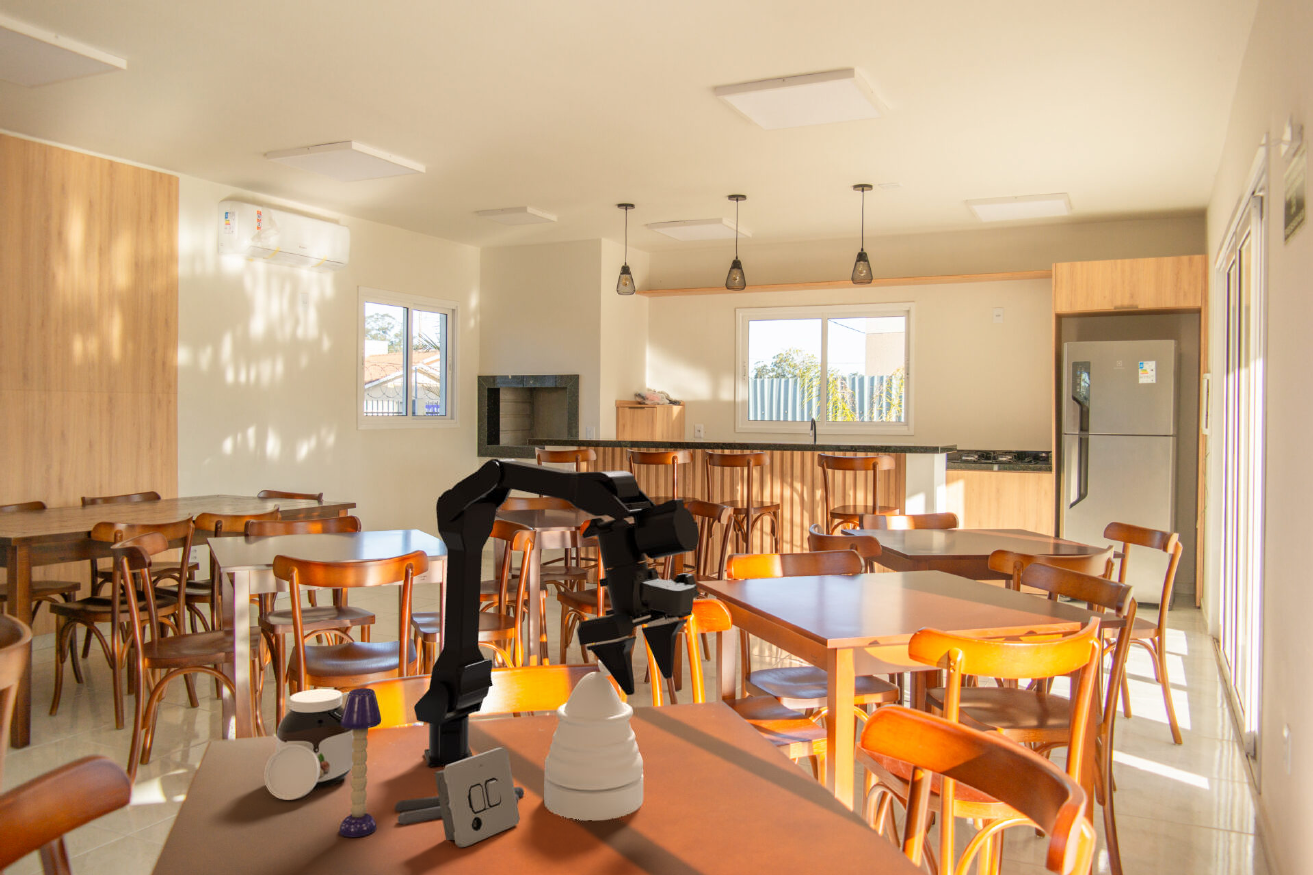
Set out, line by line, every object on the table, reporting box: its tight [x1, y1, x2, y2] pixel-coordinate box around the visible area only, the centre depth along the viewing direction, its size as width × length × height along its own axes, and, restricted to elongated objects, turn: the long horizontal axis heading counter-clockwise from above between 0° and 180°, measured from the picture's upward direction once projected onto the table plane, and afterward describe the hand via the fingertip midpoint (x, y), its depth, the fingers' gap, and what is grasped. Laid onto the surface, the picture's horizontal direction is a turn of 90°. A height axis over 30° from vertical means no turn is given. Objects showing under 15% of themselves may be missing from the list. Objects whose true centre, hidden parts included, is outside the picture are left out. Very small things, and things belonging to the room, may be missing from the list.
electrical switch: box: [434, 747, 521, 848], centre depth 113 cm, size 9×5×9 cm, turn 141°
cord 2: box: [397, 794, 520, 825], centre depth 118 cm, size 1×15×1 cm, turn 117°
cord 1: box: [394, 786, 525, 813], centre depth 121 cm, size 1×16×1 cm, turn 109°
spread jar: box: [263, 688, 354, 801], centre depth 127 cm, size 12×11×12 cm
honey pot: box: [543, 659, 644, 822], centre depth 122 cm, size 13×13×18 cm
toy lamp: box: [339, 687, 382, 838], centre depth 113 cm, size 5×5×17 cm
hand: (650, 686), depth 120 cm, fingers open, 9 cm apart
